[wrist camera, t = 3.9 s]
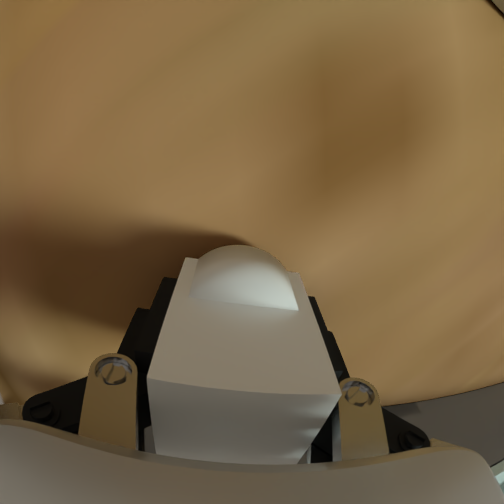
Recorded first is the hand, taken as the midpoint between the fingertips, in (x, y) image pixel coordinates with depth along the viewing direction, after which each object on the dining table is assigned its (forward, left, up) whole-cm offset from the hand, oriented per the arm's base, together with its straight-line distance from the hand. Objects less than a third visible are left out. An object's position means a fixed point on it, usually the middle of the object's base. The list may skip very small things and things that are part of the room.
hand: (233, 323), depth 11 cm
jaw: (0, 0, 0) cm, 0 cm away
